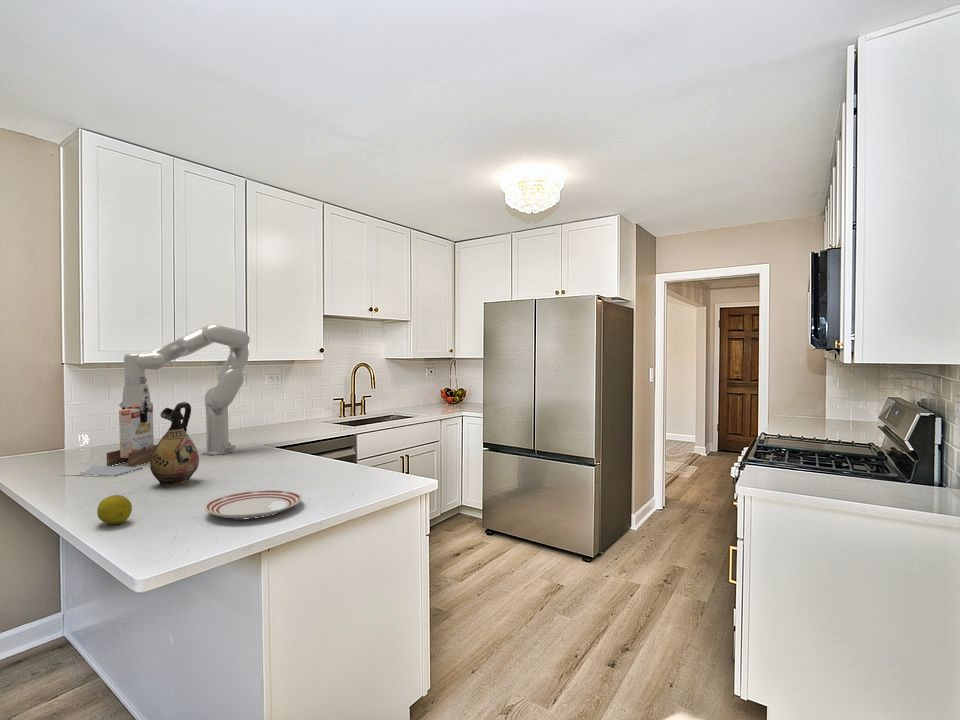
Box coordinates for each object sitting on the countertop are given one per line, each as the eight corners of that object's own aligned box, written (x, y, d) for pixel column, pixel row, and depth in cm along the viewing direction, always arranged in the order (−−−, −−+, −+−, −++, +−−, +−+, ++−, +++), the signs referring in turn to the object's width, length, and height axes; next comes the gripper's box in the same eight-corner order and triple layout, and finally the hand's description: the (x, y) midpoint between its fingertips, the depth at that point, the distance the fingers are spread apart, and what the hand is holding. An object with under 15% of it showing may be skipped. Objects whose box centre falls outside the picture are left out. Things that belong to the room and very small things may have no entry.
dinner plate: (274, 493, 174) (274, 483, 174) (319, 508, 157) (319, 497, 157) (188, 513, 153) (188, 502, 153) (230, 533, 136) (229, 521, 136)
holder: (164, 458, 230) (164, 445, 230) (131, 467, 211) (130, 453, 211) (142, 457, 232) (141, 444, 231) (106, 466, 213) (106, 452, 213)
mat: (142, 468, 210) (142, 467, 210) (114, 477, 196) (114, 475, 196) (91, 467, 213) (91, 465, 213) (60, 475, 199) (59, 473, 199)
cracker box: (133, 458, 215) (131, 409, 214) (119, 458, 215) (117, 409, 214) (155, 451, 229) (153, 405, 228) (142, 451, 229) (140, 405, 228)
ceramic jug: (177, 490, 177) (175, 405, 176) (140, 488, 180) (138, 404, 179) (212, 478, 194) (210, 400, 193) (177, 476, 197) (176, 400, 196)
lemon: (136, 524, 143) (135, 496, 142) (102, 531, 137) (101, 502, 137) (126, 515, 150) (126, 489, 150) (94, 522, 144) (93, 494, 144)
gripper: (159, 380, 223) (161, 421, 224) (124, 381, 225) (126, 420, 226) (146, 382, 216) (147, 423, 216) (110, 382, 218) (111, 423, 219)
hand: (136, 421), depth 221 cm, fingers closed on cracker box, 6 cm apart
